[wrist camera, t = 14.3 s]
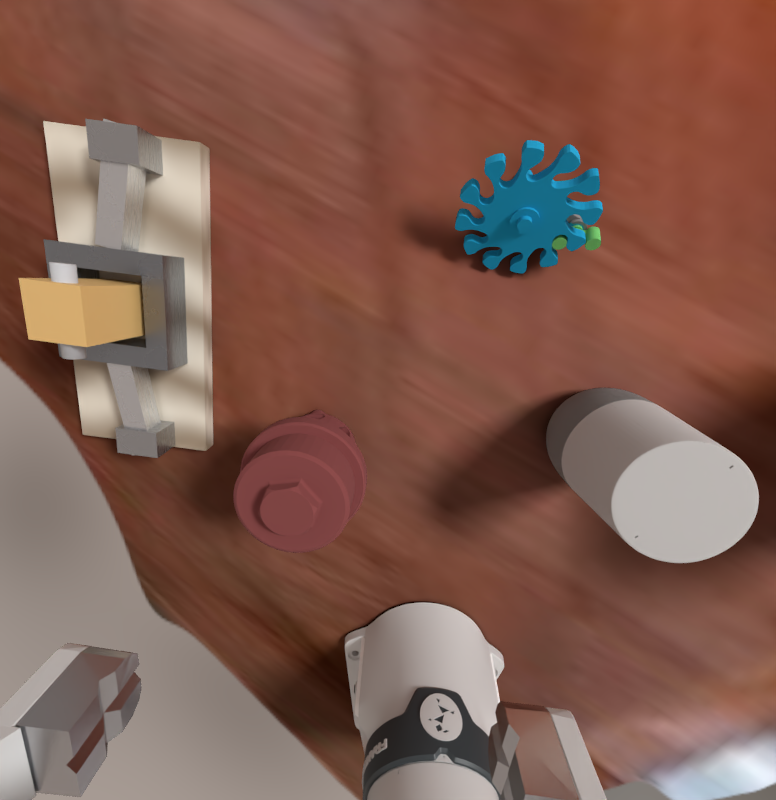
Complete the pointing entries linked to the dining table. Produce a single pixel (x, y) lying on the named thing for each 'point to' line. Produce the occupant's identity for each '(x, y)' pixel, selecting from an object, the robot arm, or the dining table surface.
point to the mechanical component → (300, 483)
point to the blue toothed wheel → (531, 210)
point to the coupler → (81, 310)
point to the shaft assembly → (161, 275)
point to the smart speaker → (652, 475)
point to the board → (160, 234)
